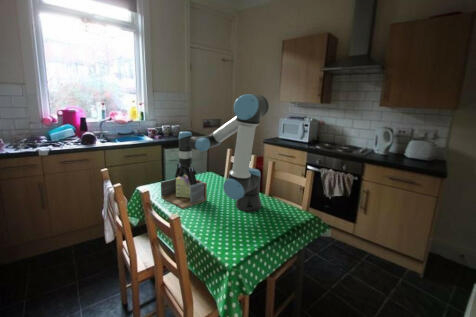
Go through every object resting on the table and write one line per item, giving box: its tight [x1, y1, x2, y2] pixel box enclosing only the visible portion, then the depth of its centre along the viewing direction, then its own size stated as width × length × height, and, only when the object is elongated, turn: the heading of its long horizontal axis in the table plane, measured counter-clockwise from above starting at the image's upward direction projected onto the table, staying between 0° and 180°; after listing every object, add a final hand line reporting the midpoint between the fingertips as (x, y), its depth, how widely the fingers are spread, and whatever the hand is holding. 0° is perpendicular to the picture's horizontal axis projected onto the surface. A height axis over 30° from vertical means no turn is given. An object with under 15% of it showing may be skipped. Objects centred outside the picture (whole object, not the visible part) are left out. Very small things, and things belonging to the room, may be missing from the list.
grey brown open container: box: [160, 174, 208, 210], centre depth 156 cm, size 22×18×12 cm
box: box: [176, 175, 190, 198], centre depth 156 cm, size 10×6×12 cm, turn 85°
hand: (185, 191), depth 157 cm, fingers closed on box, 11 cm apart
